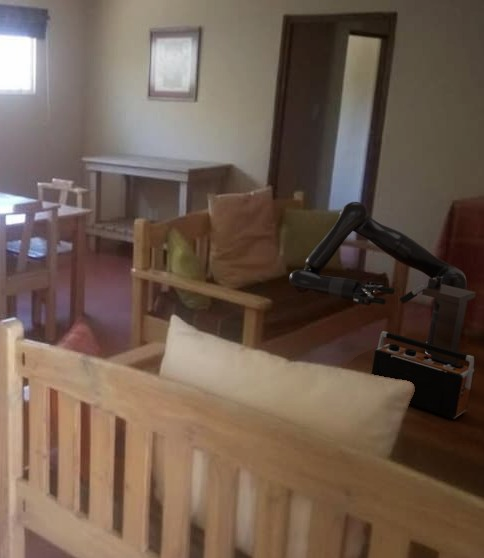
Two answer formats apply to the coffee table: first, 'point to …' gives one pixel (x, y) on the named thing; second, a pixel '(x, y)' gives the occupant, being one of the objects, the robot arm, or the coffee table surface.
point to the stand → (448, 315)
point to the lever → (414, 292)
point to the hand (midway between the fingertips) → (389, 296)
